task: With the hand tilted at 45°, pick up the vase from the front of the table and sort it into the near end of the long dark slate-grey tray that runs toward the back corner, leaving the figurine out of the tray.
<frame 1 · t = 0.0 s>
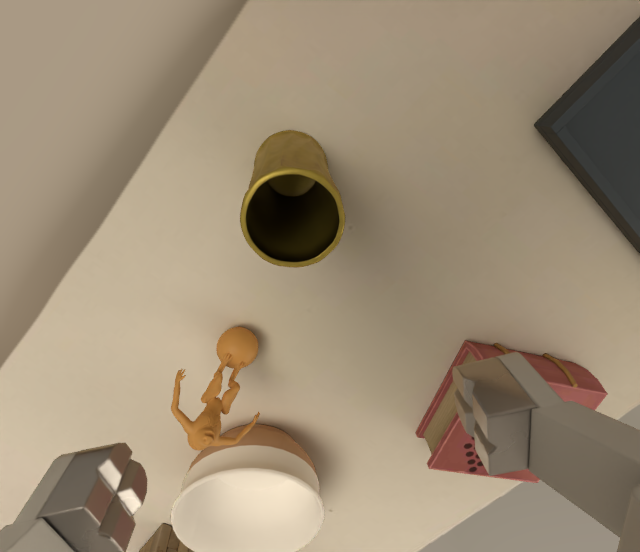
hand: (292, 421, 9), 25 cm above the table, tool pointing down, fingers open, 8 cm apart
bowl: (255, 454, 46), on the table
vase: (291, 168, 31), on the table
figurine: (234, 340, 39), on the table
book: (493, 395, 45), on the table
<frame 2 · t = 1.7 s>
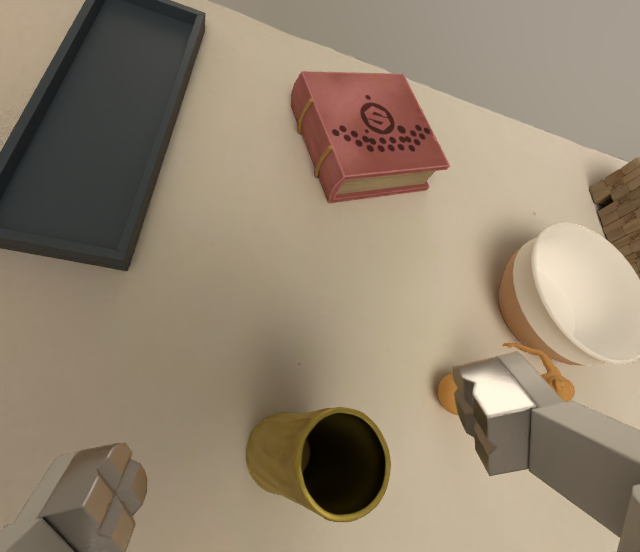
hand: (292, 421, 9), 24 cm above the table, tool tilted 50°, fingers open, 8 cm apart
bowl: (533, 310, 46), on the table
tray: (114, 113, 38), on the table
vase: (282, 451, 31), on the table
figurine: (453, 397, 38), on the table
book: (356, 149, 47), on the table
block tower: (630, 264, 56), on the table
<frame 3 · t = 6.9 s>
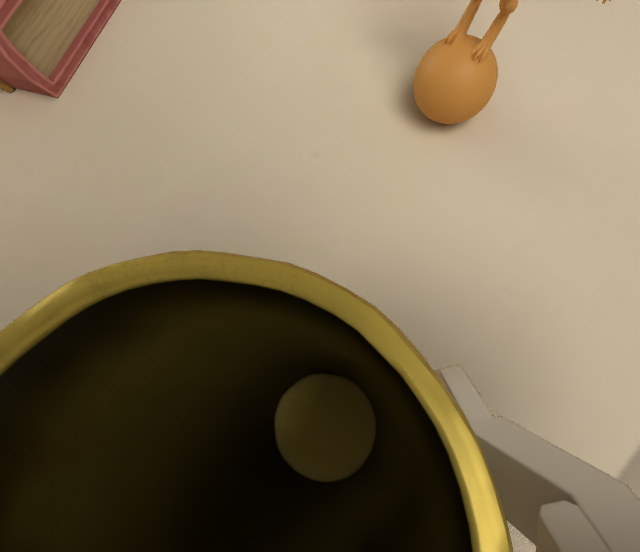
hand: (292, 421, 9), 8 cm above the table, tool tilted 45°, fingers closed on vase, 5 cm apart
vase: (326, 423, 16), on the table, touching gripper
figurine: (456, 101, 21), on the table
book: (28, 8, 27), on the table
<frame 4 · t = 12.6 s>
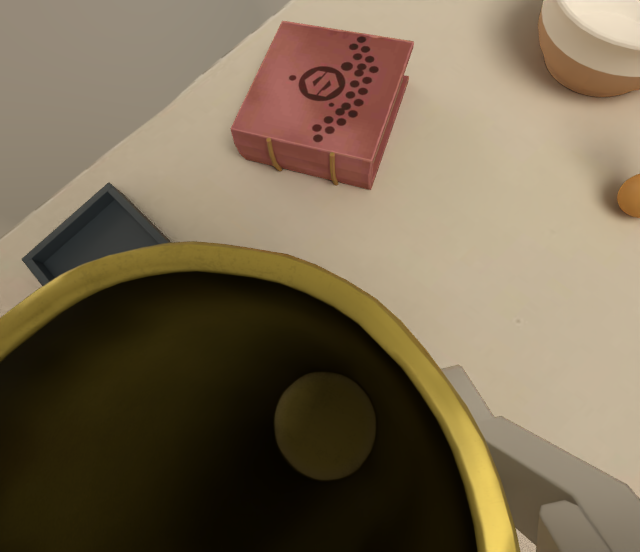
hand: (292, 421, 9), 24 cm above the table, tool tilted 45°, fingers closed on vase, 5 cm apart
bowl: (596, 58, 40), on the table
tray: (174, 332, 36), on the table
vase: (326, 422, 16), point 17 cm above the table, touching gripper
figurine: (635, 199, 35), on the table
book: (326, 124, 42), on the table
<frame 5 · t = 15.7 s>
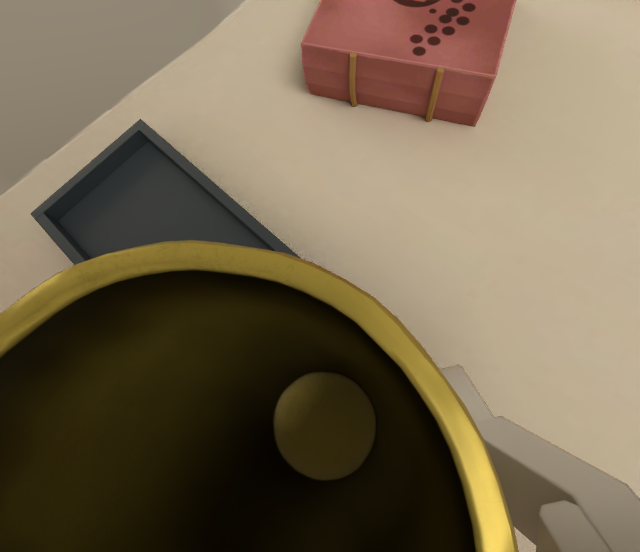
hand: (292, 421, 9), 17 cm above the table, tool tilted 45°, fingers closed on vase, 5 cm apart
tray: (230, 305, 28), on the table
vase: (326, 422, 16), point 9 cm above the table, touching gripper
book: (409, 51, 33), on the table
when the fingers open (8 cm above the table, at t = 18.5 s): vase stays where it is, resting on tray.
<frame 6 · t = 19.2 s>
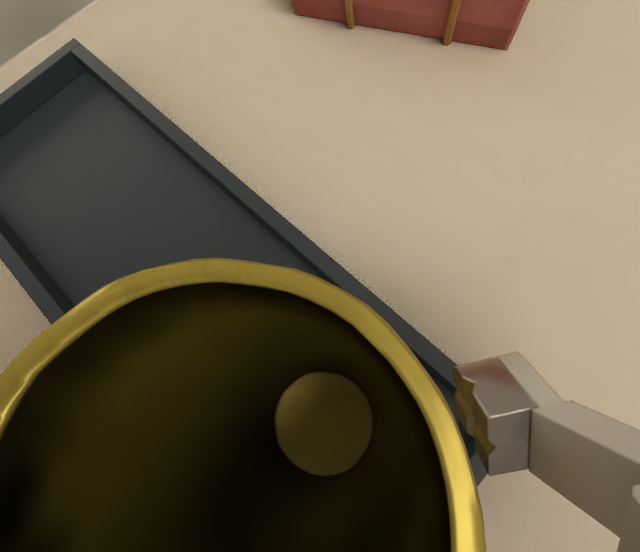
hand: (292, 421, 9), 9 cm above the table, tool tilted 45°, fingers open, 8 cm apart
tray: (182, 276, 21), on the table
vase: (325, 420, 17), point 1 cm above the table, touching tray
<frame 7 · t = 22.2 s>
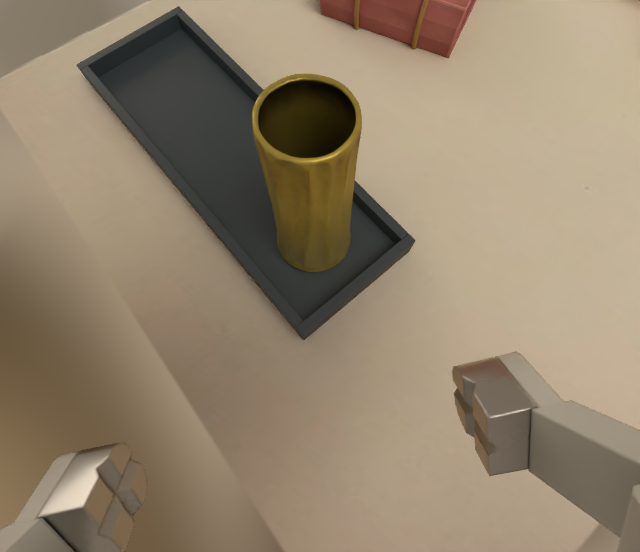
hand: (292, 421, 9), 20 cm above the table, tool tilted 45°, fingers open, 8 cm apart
tray: (236, 160, 34), on the table
vase: (313, 239, 31), point 1 cm above the table, touching tray
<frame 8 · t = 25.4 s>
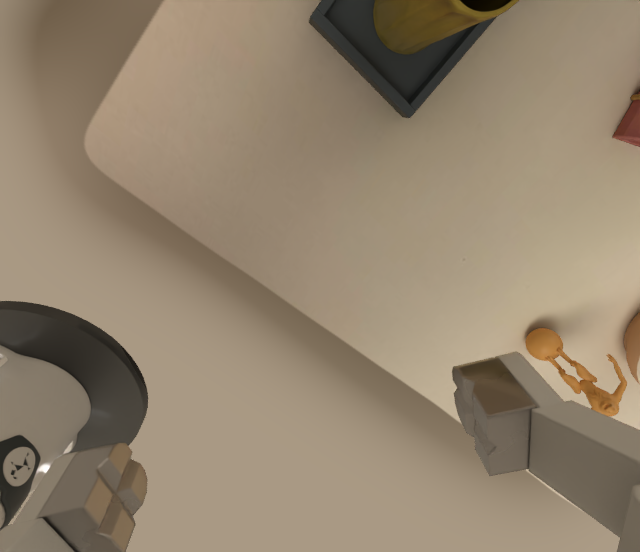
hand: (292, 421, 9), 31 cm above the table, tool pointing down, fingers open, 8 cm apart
vase: (408, 12, 31), point 1 cm above the table, touching tray
figurine: (537, 338, 49), on the table
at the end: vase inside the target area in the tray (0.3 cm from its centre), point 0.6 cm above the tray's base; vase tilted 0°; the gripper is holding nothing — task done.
